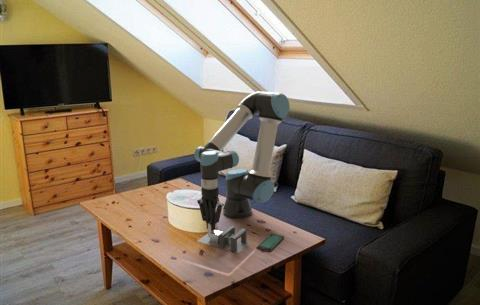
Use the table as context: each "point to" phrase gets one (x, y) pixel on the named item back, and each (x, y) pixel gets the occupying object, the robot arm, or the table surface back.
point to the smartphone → (270, 242)
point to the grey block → (215, 237)
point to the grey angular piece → (235, 244)
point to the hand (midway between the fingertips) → (211, 236)
